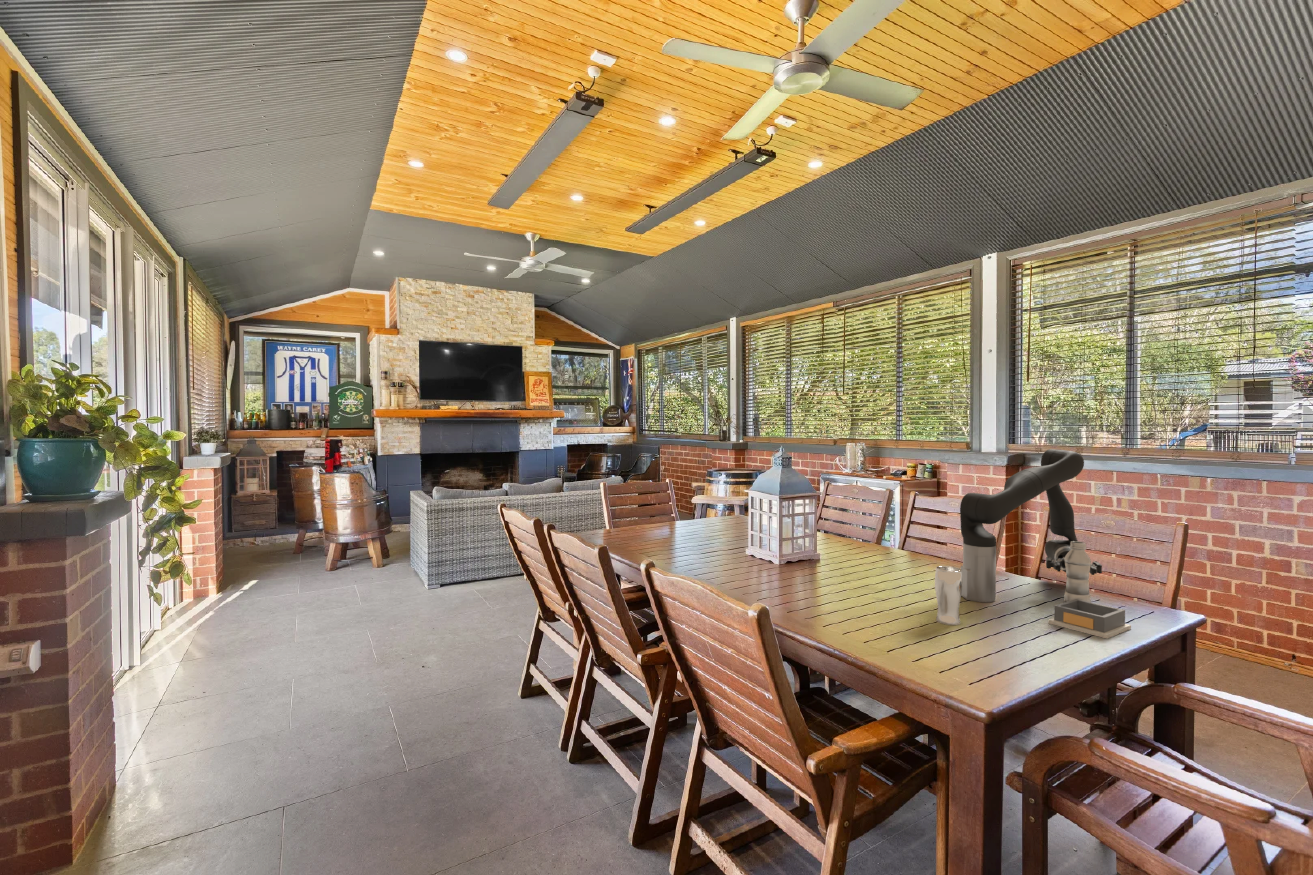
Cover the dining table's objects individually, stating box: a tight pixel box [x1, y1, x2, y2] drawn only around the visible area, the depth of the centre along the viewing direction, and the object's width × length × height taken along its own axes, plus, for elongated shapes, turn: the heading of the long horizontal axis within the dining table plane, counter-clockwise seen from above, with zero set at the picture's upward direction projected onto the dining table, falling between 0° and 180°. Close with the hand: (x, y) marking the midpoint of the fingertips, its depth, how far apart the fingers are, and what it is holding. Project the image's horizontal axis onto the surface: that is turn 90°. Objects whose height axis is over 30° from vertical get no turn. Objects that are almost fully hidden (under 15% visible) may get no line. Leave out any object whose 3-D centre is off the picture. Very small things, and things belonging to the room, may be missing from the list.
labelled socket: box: [1048, 599, 1132, 639], centre depth 164 cm, size 14×14×5 cm
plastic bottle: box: [1063, 541, 1092, 603], centre depth 179 cm, size 6×7×20 cm
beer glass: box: [934, 565, 963, 626], centre depth 167 cm, size 7×7×15 cm
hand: (1076, 569), depth 182 cm, fingers open, 8 cm apart
